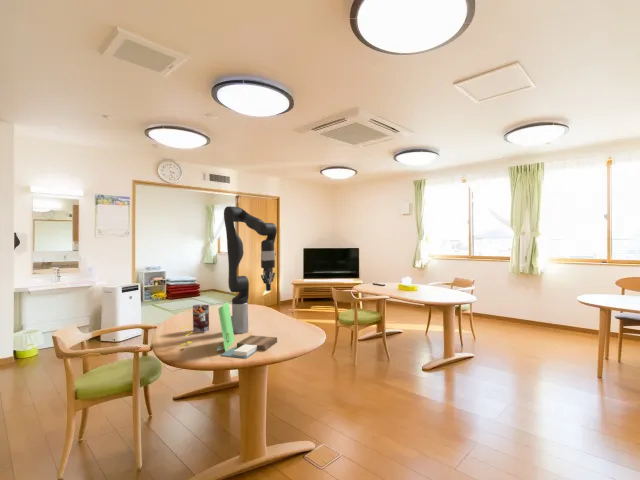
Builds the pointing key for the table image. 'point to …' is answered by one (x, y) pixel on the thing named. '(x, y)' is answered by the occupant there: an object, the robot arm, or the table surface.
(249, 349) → the tile
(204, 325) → the supplement box
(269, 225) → the robot arm
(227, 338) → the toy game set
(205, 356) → the table surface
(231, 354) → the mat
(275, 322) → the table surface
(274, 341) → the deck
